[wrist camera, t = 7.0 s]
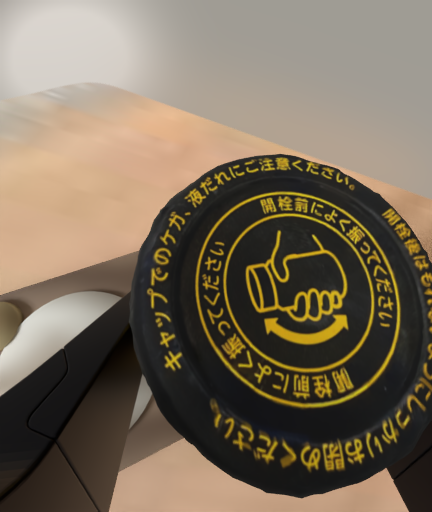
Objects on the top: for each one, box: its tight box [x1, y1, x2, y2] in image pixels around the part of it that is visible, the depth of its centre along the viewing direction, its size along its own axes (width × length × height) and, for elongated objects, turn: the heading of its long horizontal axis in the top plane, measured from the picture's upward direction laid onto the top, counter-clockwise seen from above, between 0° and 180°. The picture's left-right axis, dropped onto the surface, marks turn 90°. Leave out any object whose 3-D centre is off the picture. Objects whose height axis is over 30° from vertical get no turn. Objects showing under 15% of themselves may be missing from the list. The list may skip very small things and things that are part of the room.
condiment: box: [129, 154, 432, 498], centre depth 9 cm, size 7×8×12 cm
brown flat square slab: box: [0, 251, 184, 471], centre depth 18 cm, size 16×16×2 cm
